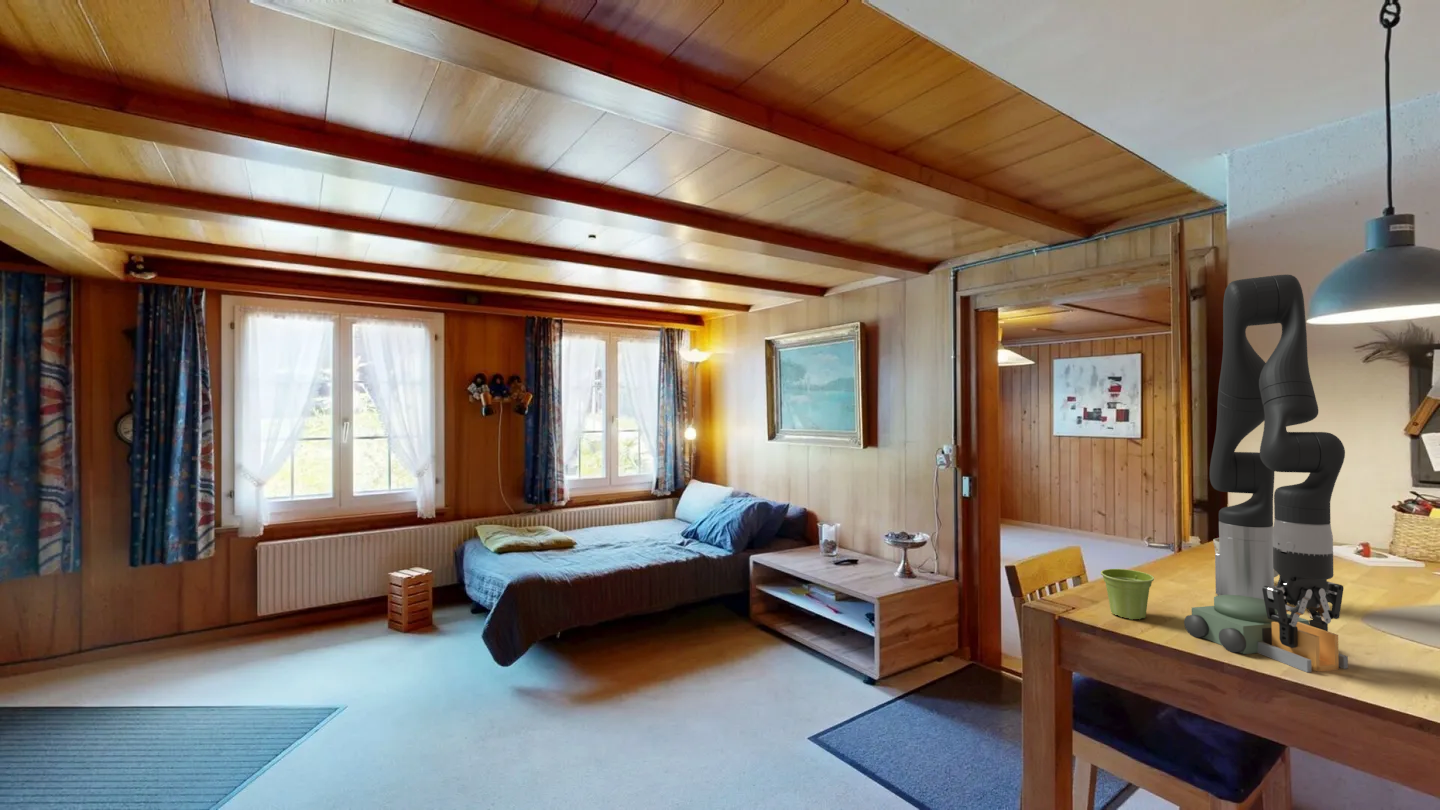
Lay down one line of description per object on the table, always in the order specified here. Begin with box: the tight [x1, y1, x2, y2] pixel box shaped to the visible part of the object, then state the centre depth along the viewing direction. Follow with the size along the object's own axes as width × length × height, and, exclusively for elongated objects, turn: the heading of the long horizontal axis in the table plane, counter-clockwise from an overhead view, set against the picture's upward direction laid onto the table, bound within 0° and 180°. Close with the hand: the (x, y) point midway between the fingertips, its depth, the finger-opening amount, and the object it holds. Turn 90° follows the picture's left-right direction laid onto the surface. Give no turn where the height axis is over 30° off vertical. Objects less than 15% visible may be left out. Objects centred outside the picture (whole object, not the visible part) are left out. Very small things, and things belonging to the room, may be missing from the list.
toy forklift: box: [1183, 594, 1349, 673], centre depth 110 cm, size 18×16×7 cm
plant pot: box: [1100, 568, 1155, 620], centre depth 128 cm, size 9×9×9 cm
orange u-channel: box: [1272, 622, 1340, 672], centre depth 104 cm, size 7×4×6 cm, turn 9°
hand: (1303, 644), depth 105 cm, fingers open, 5 cm apart
